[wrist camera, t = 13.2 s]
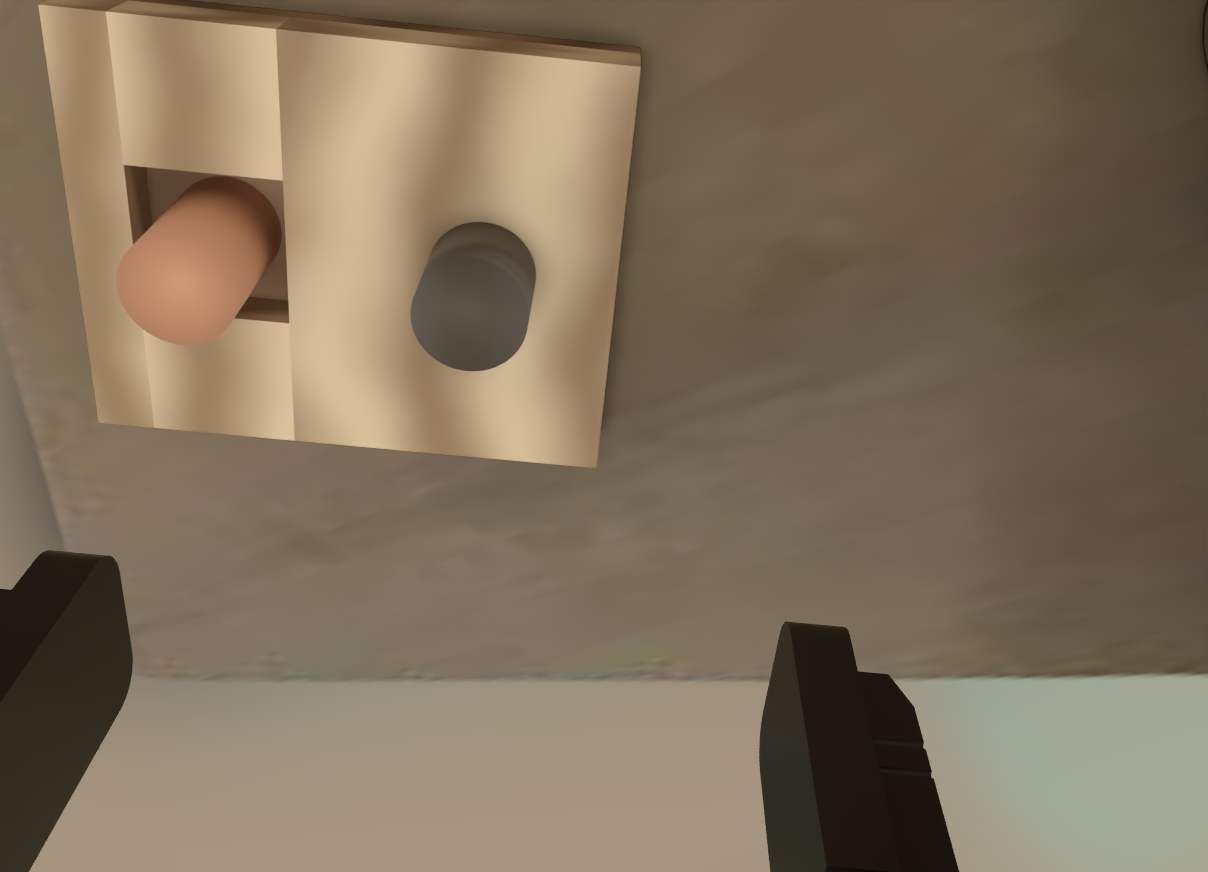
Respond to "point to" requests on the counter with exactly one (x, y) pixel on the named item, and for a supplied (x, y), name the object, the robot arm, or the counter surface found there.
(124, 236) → the pin board
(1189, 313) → the counter surface
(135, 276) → the terracotta pin
